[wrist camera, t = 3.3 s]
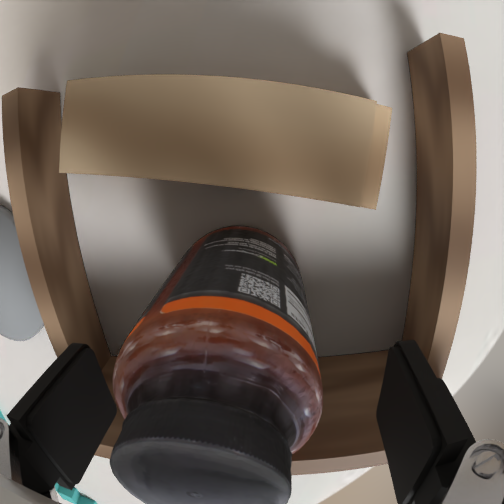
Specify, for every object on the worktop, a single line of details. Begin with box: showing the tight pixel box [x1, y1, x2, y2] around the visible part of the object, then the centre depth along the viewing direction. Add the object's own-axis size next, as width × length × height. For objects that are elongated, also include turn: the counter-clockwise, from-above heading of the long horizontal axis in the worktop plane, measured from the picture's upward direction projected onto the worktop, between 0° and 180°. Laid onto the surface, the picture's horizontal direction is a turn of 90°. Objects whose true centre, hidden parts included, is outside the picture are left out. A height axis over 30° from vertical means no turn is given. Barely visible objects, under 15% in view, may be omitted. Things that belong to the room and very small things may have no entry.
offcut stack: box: [59, 74, 392, 210], centre depth 12 cm, size 4×13×4 cm, turn 83°
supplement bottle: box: [110, 226, 323, 504], centre depth 10 cm, size 6×6×11 cm
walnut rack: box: [2, 33, 476, 475], centre depth 12 cm, size 17×20×7 cm
